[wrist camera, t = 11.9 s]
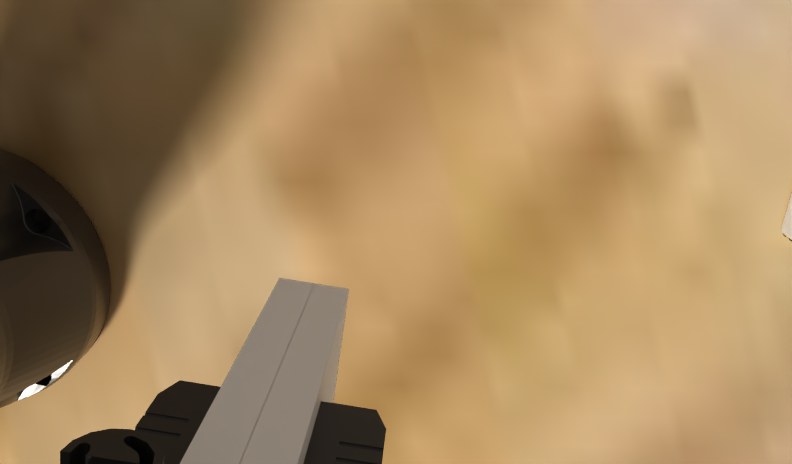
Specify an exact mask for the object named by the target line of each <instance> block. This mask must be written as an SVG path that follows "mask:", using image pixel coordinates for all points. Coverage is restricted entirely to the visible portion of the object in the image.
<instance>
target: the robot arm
mask: <svg viewBox="0 0 792 464" xmlns="http://www.w3.org/2000/svg"><path fill="white" fill-rule="evenodd" d="M348 292H349V289H346V288H339V287H333V286H327V285H321V284H314V283H308V282H302V281H296V280H289V279H283V278H279V280H278V282H277V284H276V285H275V287H274V289H273V291H272V293H271V295H270V297H269V298H268V300H267V302H266V304H265V306H264V308H263V310H262V312H261V313H260V315H259V317H258V319H257V321H256V323H255V325H254V326H253V328H252V330H251V332H250V334H249V336H248V338H247V339H246V341H245V343H244V345H243V347H242V349H241V351H240V352H239V354H238V356H237V358H236V360H235V362H234V364H233V365H232V367H231V369H230V371H229V373H228V375H227V377H226V378H225V380H224V382H223V384H222V386H221V387H217V386H211V385H205V384H199V383H193V382H186V381H178V382H177V383H175V384H173V385H172V386H170V387H169V388H167V389H165V390H164V391H162V392H161V393H159V394H158V395H157V396H156V398H155V399H154V401H153V402H152V404H151V405H150V406H149V408H148V409H147V411H146V413H145V416H143V417H142V418H141V420H140V421H139V423H138V424H137V426H136V428H135V431H134V430H130V429H107V430H102V431H96V432H91V433H89V434H86V435H84V436H82V437H79V438H77V439H75V440H73V441H72V442H70V443H69V444H68V445H67V446H66V447H65V448H63V449H62V450H61V451H60V464H382V457H383V449H384V441H385V433H386V428H385V426H384V424H383V422H382V420H381V418H380V416H379V414H378V412H377V410H373V409H367V408H361V407H354V406H348V405H342V404H336V403H333V400H334V394H335V386H336V379H337V372H338V365H339V357H340V350H341V343H342V336H343V329H344V321H345V314H346V307H347V300H348ZM109 301H110V276H109V269H108V264H107V260H106V256H105V252H104V249H103V247H102V244H101V241H100V239H99V237H98V235H97V233H96V231H95V229H94V227H93V225H92V223H91V222H90V220H89V218H88V217H87V215H86V214H85V212H84V211H83V209H82V208H81V207H80V206H79V204H78V203H77V202H76V201H75V199H74V198H73V197H72V196H71V195H70V194H69V193H68V192H67V191H66V190H65V189H64V188H63V187H62V186H61V185H60V184H59V183H58V182H56V181H55V180H54V179H53V178H52V177H50V176H49V175H48V174H46V173H45V172H44V171H42V170H41V169H39V168H38V167H36V166H35V165H33V164H31V163H29V162H28V161H26V160H24V159H22V158H20V157H18V156H16V155H13V154H11V153H8V152H6V151H3V150H0V408H1V407H4V406H6V405H9V404H11V403H13V402H15V401H17V400H20V399H23V398H26V397H28V396H31V395H33V394H36V393H38V392H40V391H42V390H44V389H46V388H47V387H49V386H51V385H52V384H53V383H55V382H56V381H58V380H59V379H60V378H62V377H63V376H64V375H65V374H66V373H68V371H69V370H70V369H71V368H72V367H73V366H74V365H75V364H76V363H77V362H78V361H79V360H80V359H81V358H82V357H83V356H84V355H85V354H86V353H87V352H88V350H89V349H90V348H91V347H92V345H93V344H94V342H95V341H96V339H97V337H98V336H99V334H100V332H101V330H102V327H103V325H104V322H105V319H106V316H107V312H108V308H109Z"/></svg>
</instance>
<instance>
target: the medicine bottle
mask: <svg viewBox="0 0 792 464" xmlns="http://www.w3.org/2000/svg"><path fill="white" fill-rule="evenodd" d="M781 232H782V234H783V235H784V236H785V237H787V238H788V239H789V240H791V241H792V193H791V197H790V200H789V203H788V207H787V210H786V213H785V217H784V220H783V223H782V226H781Z"/></svg>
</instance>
